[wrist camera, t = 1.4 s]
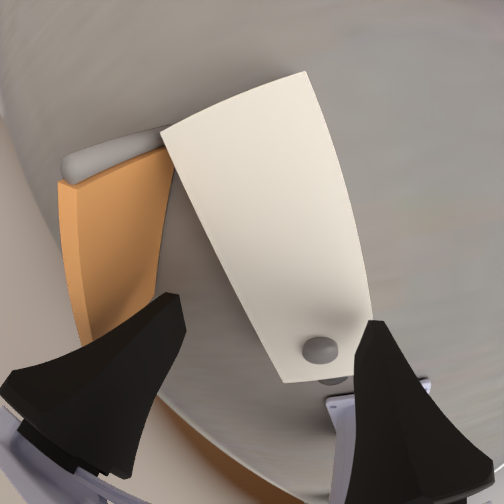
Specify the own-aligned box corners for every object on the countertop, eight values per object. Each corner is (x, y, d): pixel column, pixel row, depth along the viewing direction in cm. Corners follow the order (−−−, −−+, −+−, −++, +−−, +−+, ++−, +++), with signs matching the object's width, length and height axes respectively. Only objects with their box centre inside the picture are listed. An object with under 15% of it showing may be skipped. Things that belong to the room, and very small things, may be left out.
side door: (167, 122, 10) (58, 152, 5) (184, 126, 10) (78, 159, 5) (142, 290, 16) (87, 363, 10) (154, 295, 16) (100, 371, 10)
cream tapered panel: (374, 344, 14) (379, 385, 12) (292, 357, 16) (286, 396, 14) (307, 79, 9) (305, 69, 6) (189, 125, 10) (152, 134, 8)
